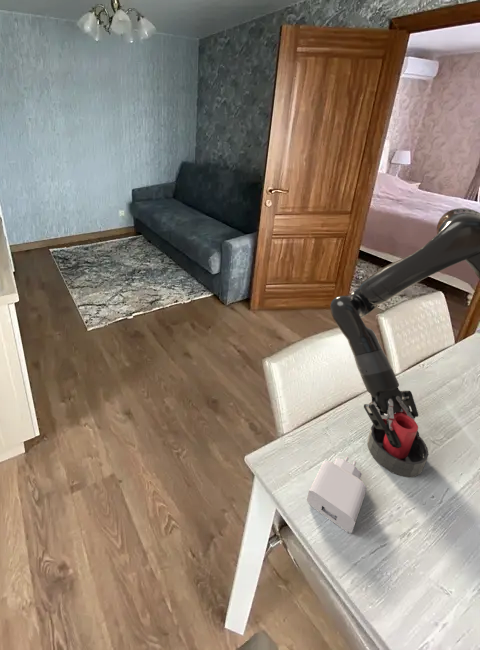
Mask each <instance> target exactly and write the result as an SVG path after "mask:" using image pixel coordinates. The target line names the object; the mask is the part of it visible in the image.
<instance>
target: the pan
mask: <svg viewBox="0 0 480 650" xmlns="http://www.w3.org/2000/svg"><path fill="white" fill-rule="evenodd" d="M386 423H387V420H386ZM385 434H386V433H385V431H384V430H381V429H376V428H375V426H374V425H373V424H372V425H371V427H370V430H369V433H368V437H367V441H366V442H367V448H368V449H367V450H368V451H369V453H370V455H371V456H372V458H373V459H374V460H375V462H377V464H379V465H380V466H381V467H382V468H384V469H385V470H387V471H389V472H390V473H392V474H394V475H397V476H400V477H405V478H414V477H418V476H419V475H420V474H421V473H422V472H423V470H424V467H425V465H426V463H427V460H428V458H429V455H430V454H429V449H428V445H427V444H426V442H425V441H424V439H423V438H422V437H421V436H420V435H419V437H420V439H418V440H414V441H413V444H412V446H411V449H410V451H409V454H408V456H407V457H406V458H404V459H399V458H396V457H394V456H392V455H391V454H389V453H388V452H387V451H386V450H385V449H384V447H383V440H384V437H385Z"/></svg>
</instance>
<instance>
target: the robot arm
mask: <svg viewBox="0 0 480 650" xmlns="http://www.w3.org/2000/svg"><path fill="white" fill-rule="evenodd" d="M464 261H465V263H467V264H468V265H469V267H470V268H471V270H472V271H473V272H474V273H475V275H476V276H477V278H478V280H479V281H480V211H477V210H474V209H471V208H467V207H466V208H463V207H459V208H453V209H450V210H448V211H446V212H445V213H444V214H443V215H442V216H441V217H440V218H439V220H438V222H437V224H436V234H435V236H434V237H433V238H431V239H430V240H429V241H428V242H427V243H426V244H424V246H422V247H421V248H419V249H418V250H416V251H415V252H413V253H411V254H410V255H407V256H406V257H403V258H401V259H399V260H396V261H393V262H391V263H390V264H387V265H385V266H383V267H382V268H380V269H379V270H377V271H376V272H375V273H373V274H372V275H370V276H368V277H367V278H366V279H364V280H363V281H362V282H361V283H360V285H359V287H357V288H356V289H355V290H353V291H352V292H351V293H349V294H344V295H339V296H336V297H334V298H333V299H332V300H331V302H330V309H329V310H330V314H331V317H332V319H333V321H334V323H335V324H336V326H337V327H338V328H339V330H340V332H341V333H342V335H343V336H344V338H345V339H346V340H347V343H348V345H349V349H350V350H351V353H352V355H353V359H354V362H355V365H356V368H357V369H358V373H359V375H360V377H361V380H362V382H363V384H364V387H365V389H366V392H368V393H369V394H370V396H371V397H370V398H371V401H370V402H369V403H364V404H363V409H364V410H365V412H366V414H367V415H368V417H369V420H370V421H371V422H372V425H374V426H375V428H376V429H381V430H384V431H385V433H386V436H387V438H388V440H389V443H390V444H391V445H392V446H393V447H396V448H400V447H401V443H400V441H399V439H398V436H397V434H396V432H395V430H393V429H394V427H393V420H394V414H395V413H402V414H405V415H407V416H409V417H411V418H412V419H413V420H414V421H415V419H416V418H418V417H419V412H418V408H417V406H416V402H415V399H414V396H413V394H412V393H413V392H412V391H411V390H400V389H399V386H400V383H399V381H398V379H397V376H396V374H395V372H394V370H393V368H392V365H391V363H390V360H389V358H388V356H387V355H386V353H385V351H384V349H383V348H382V345H381V343H380V341H379V338H378V336H377V335H376V333H375V331H374V330H373V329H372V328H370V327H368V326H366V324H365V322H364V321H363V318H365V317H366V316H368V315H369V314H371V313H372V312H373V311H374V310H376V309H377V308H378V307H379V306H380V305H382V304H385V303H386V302H388V301H389V300H391V299H393V298H394V297H396V296H397V295H399V294H401V293H402V292H404V291H405V290H407V289H409V288H410V287H413V286H414V285H415V284H417V283H419V282H421V281H423V280H424V279H426V278H428V277H431V276H432V275H434V274H437V273H439V272H441V271H443V270H446V269H447V268H449V267H452V266H454V265H457V264H459V263H461V262H464ZM386 420H387V423H386ZM419 436H420V433H419V430H418V431H417V433H416V436H415V438H414V440H418V439H420V437H421V436H420V437H419Z"/></svg>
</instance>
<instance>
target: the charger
mask: <svg viewBox="0 0 480 650" xmlns="http://www.w3.org/2000/svg"><path fill="white" fill-rule="evenodd" d="M349 458H350V457H349V456H346V457H345V458H344V459H342V458H339V457H337V458H335V460H334V461H330V460H323V462H322V464H321V466H320V468H319V470H318V472H317V474H316V476H315V478H314V480H313V482H312V483H311V486H310V487H309V489H308V494H307V497H306V502H307V504H308V505H309V506H310V507H311V508H312V509H314V510H316V511H317V512H318V513H319V514H321V515H322V516H323V517H325V518H326V519H328V520H329V521H331V522H332V523H333V524H335V525H336V526H338V527H339V528H340V529H342V530H343V531H345V532H346V533H349V534H353V531H354V528H355V525H356V522H357V519H358V516H359V514H360V511H361V508H362V505H363V502H364V499H365V496H366V493H367V490H368V488H367V486H366V485H365V483H364V481H363V480H362V479H361V478H362V475H363V474H362V472H361V470H359V469H358V467H356V465H357V461H356V460H353V462H352V463H351V462H349V461H348V460H349Z"/></svg>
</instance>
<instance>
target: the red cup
mask: <svg viewBox="0 0 480 650" xmlns="http://www.w3.org/2000/svg"><path fill="white" fill-rule="evenodd" d="M393 427H394V429H393V430H395V432H396V434H397V436H398V439H399V441H400V443H401V447H400V448H396V447H393V446H392V445H391V444H390V443H389V440H388V438H387V436H386V434H385V437H384V440H383V447H384V449H385V450H386V451H387V452H388V453H389V454H391V455H392V456H394V457H396V458H399V459H404V458H406V457H407V456H408V454H409V451H410V449H411V446H412V444H413V441H414V438H415V436H416V433H417V431H418V432H419V430H418V429H419V425H418V423H417V422H416V421H415V420H413V419H412V418H411V417H409V416H407V415H405V414H402V413H395V414H394V420H393Z"/></svg>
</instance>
